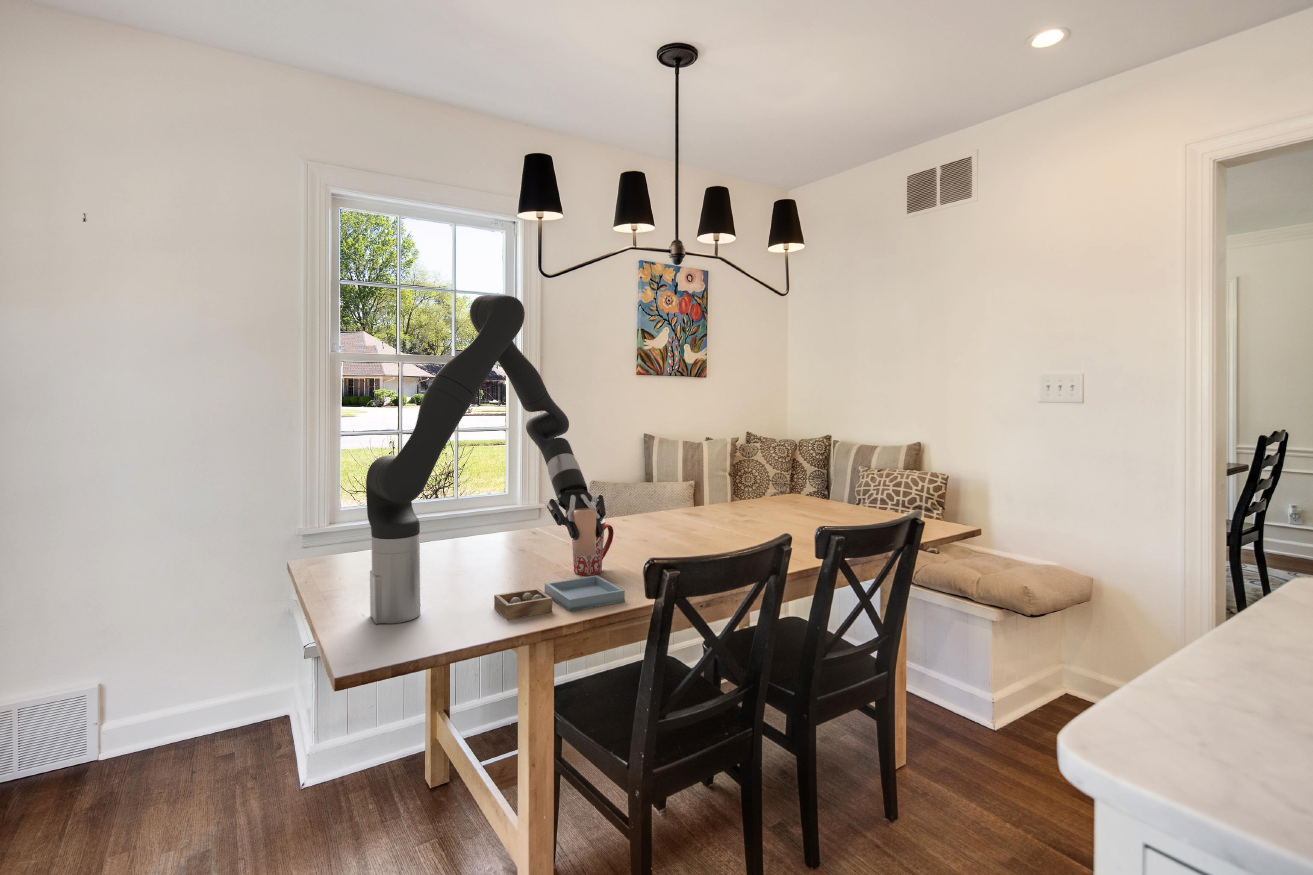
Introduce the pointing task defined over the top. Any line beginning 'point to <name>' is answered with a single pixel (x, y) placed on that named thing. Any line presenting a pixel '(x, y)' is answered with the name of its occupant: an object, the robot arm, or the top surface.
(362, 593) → the top surface
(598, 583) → the dish
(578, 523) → the wooden block
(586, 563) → the mug
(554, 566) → the top surface
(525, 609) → the parts tray
